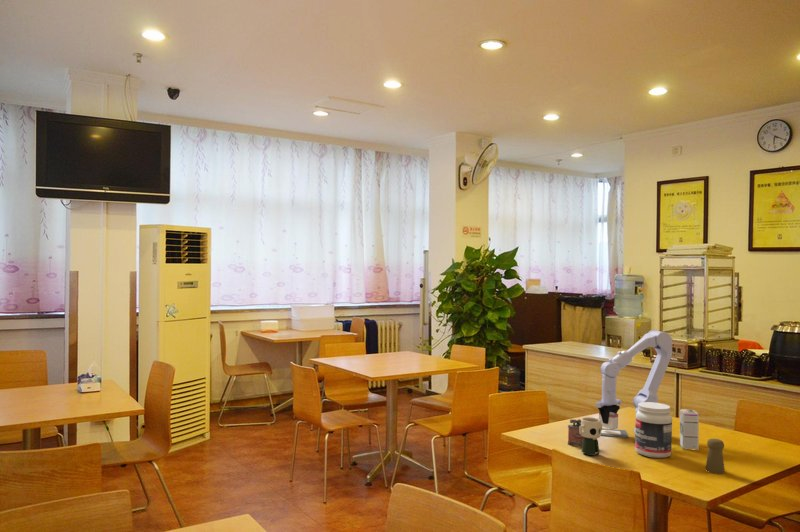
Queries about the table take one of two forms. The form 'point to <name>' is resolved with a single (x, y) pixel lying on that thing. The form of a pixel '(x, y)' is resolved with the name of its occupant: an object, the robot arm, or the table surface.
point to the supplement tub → (653, 430)
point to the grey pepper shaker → (715, 456)
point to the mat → (614, 433)
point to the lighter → (575, 433)
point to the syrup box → (689, 429)
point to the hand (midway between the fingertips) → (608, 422)
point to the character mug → (590, 434)
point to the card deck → (610, 421)
